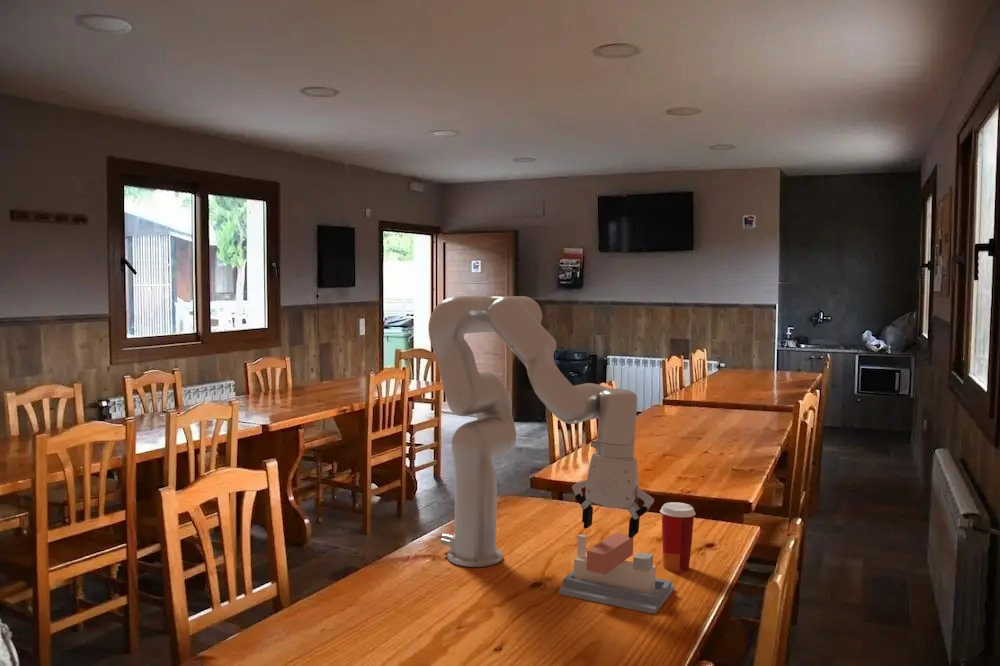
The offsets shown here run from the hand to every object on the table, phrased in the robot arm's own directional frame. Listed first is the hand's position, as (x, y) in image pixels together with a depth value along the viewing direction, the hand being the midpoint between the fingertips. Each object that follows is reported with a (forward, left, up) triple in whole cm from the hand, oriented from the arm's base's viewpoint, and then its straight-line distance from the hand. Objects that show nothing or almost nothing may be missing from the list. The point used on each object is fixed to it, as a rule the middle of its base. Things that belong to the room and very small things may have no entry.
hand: (609, 531), depth 165 cm
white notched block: (+1, 0, -11) cm, 11 cm away
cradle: (+2, 0, -12) cm, 13 cm away
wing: (0, 0, -6) cm, 6 cm away
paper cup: (+9, +20, -13) cm, 25 cm away
